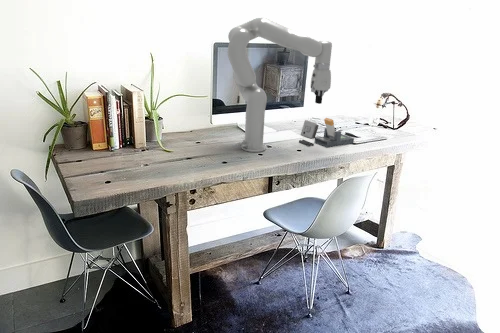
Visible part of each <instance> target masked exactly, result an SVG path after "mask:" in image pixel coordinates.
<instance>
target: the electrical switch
mask: <svg viewBox="0 0 500 333" xmlns="http://www.w3.org/2000/svg"><path fill="white" fill-rule="evenodd" d="M319 126H320V125H319V124H317V123H316V122H315V121H310V120H307V119H304V122H303V125H302V128H301V131H300V136H302V137H306V138H308V139H315V138H316V136H317V132H318V129H319Z"/></svg>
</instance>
